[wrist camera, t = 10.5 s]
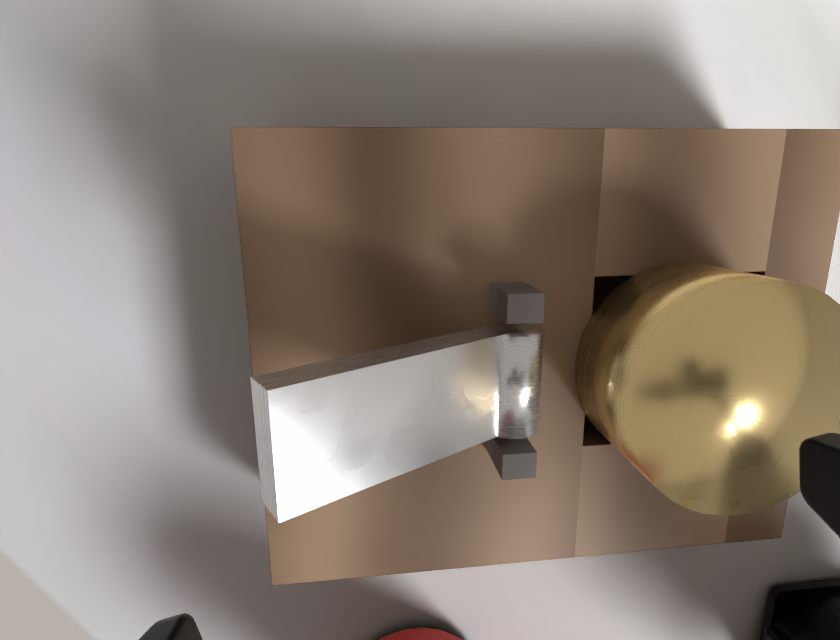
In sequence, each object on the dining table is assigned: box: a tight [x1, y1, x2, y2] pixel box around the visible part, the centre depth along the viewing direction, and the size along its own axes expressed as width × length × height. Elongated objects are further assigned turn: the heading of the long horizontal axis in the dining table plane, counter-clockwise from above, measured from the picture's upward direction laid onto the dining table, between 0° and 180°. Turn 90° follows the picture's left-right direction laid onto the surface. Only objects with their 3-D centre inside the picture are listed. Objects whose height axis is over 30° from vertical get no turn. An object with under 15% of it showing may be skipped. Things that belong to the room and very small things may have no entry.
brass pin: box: [575, 261, 840, 516], centre depth 17 cm, size 6×6×8 cm
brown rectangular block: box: [230, 127, 840, 586], centre depth 18 cm, size 18×14×7 cm
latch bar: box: [250, 323, 544, 523], centre depth 13 cm, size 8×3×2 cm, turn 90°
